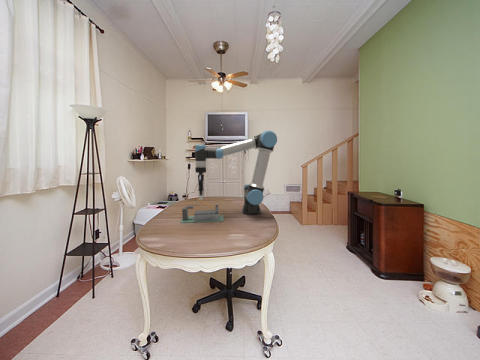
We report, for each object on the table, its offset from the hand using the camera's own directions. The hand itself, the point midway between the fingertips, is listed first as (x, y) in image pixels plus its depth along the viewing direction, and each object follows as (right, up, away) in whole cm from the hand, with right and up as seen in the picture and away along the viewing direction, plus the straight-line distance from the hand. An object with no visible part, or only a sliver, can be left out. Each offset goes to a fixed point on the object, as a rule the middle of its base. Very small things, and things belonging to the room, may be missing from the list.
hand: (201, 199), depth 151 cm
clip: (-9, -14, +1) cm, 17 cm away
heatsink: (+4, -15, +2) cm, 15 cm away
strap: (+4, -4, +1) cm, 6 cm away
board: (+1, -15, +2) cm, 15 cm away
